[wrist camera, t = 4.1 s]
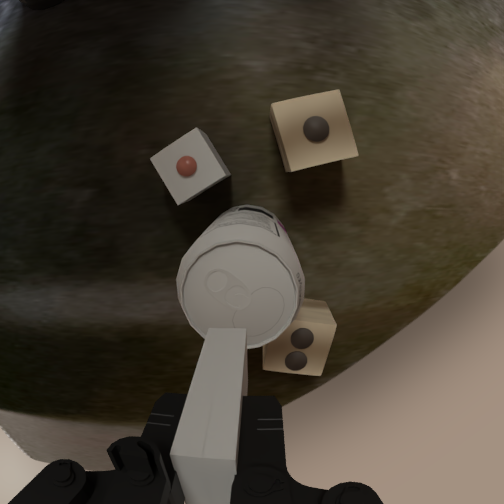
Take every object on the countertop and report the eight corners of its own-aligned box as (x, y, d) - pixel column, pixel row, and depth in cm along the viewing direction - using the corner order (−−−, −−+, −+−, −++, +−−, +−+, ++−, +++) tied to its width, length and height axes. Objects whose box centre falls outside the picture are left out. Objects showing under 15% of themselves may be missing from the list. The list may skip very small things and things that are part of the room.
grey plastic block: (165, 160, 31) (149, 158, 26) (206, 134, 31) (196, 126, 26) (189, 200, 32) (177, 205, 27) (231, 174, 32) (225, 175, 26)
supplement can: (303, 238, 33) (336, 289, 18) (252, 295, 34) (247, 378, 20) (242, 187, 32) (228, 199, 17) (193, 248, 33) (146, 305, 19)
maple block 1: (269, 116, 30) (271, 103, 24) (325, 103, 29) (339, 88, 23) (285, 172, 31) (291, 171, 25) (341, 158, 31) (359, 155, 25)
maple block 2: (272, 293, 34) (274, 318, 28) (325, 301, 35) (337, 326, 29) (262, 340, 36) (262, 370, 30) (312, 346, 36) (321, 377, 30)
